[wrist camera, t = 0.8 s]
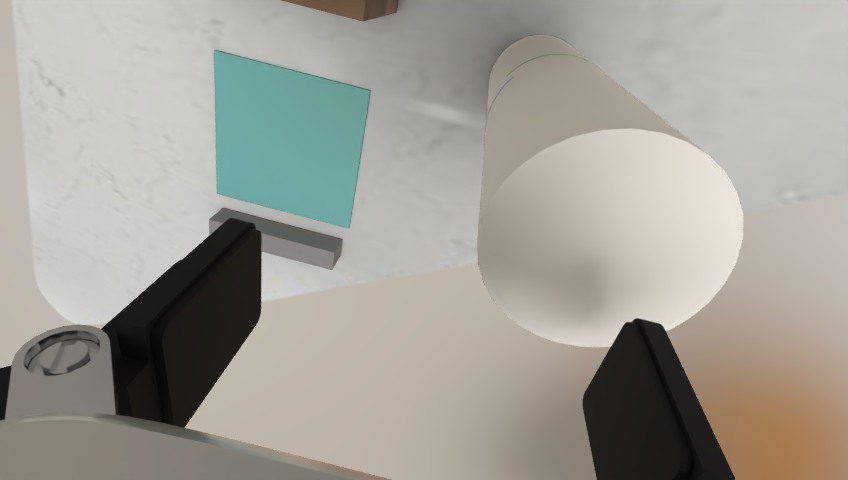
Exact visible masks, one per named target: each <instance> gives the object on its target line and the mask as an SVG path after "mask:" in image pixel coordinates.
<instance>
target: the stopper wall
mask: <svg viewBox="0 0 848 480" xmlns="http://www.w3.org/2000/svg"><path fill="white" fill-rule="evenodd" d="M229 218H235V219H239V220H243V221H247V222H251V223H254V224H255V227H256V230H259V231H261V235H262V246H261V251H262V252H266V253H270V254H273V255H277V256H281V257H285V258H288V259H292V260H296V261H300V262H304V263H307V264H311V265H315V266H319V267H323V268H326V269H330V270H332V269H333V268H334V266H335V264H336V262H337V261H338V259H339V257H340V253H341V246H342V239H339V238H335V237H331V236H328V235H324V234H320V233H316V232H312V231H309V230H305V229H301V228H297V227H293V226H290V225H286V224H282V223H278V222H274V221H271V220H267V219H263V218H259V217H255V216H252V215H248V214H244V213H240V212H236V211H233V210H229V209H225V208H223V209H221V210H220V211H219V212H218V213H216V214H215V215H214V216H213V217H212V218H210V219H209V233H210V235H211V234H212V233H213V232H214V231H215V230H216V229H217V228H218V227H220V226H221V225H222V224H223V223H224V222H225V221H226V220H228V219H229Z"/></svg>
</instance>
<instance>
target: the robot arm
mask: <svg viewBox="0 0 848 480" xmlns="http://www.w3.org/2000/svg"><path fill="white" fill-rule="evenodd" d="M261 246H262V235H261V231H259V230H256V227H255V224H254V223H251V222H247V221H243V220H239V219H235V218H229V219H228V220H226V221H225V222H224V223H223V224H222V225H221V226H220V227H218V228H217V229H216V230H215V231H214V232H213V233H212V234H211V235H210V236H208V237H207V238H206V239H205V240H204V241H203V242H202V243H201V244H199V245H198V246H197V247H196V248H195V249H194V250H193V251H192V252H190V253H189V254H188V255H187V256H186V257H185V258H184V259H183V260H180V261H178V262H177V263H175V264H174V265H173V266H172V267H171V268H170V269H168V270H167V271H166V272H165V273H164V274H163V275H162V276H160V277H159V278H158V279H157V280H156V281H155V282H154V283H153V284H151V285H150V286H149V287H148V288H147V289H146V290H145V291H144V292H142V293H141V294H140V295H139V296H138V297H137V298H136V299H134V300H133V301H132V302H131V303H130V304H129V305H128V306H127V307H125V308H124V309H123V310H122V311H121V312H120V313H119V314H117V315H116V316H115V317H114V318H113V319H112V320H111V321H110V322H108V323H107V324H106V325H105V326H104V327H103V328H102V329H99V328H96V327H93V326H88V325H71V326H63V327H59V328H56V329H52V330H49V331H47V332H44V333H42V334H40V335H38V336H36V337H34V338H33V339H31V340H30V341H28V342H27V343H25V344H24V345H23V346H22V347H21V348H20V350H19V351H18V352H17V353H16V354H15V357H14V359H13V362H12V365H11V366H8V367H4V368H0V480H391V479H387V478H383V477H378V476H375V475H371V474H367V473H363V472H360V471H355V470H351V469H348V468H344V467H340V466H336V465H332V464H328V463H324V462H320V461H316V460H312V459H308V458H304V457H301V456H296V455H292V454H289V453H285V452H281V451H277V450H273V449H269V448H265V447H261V446H256V445H253V444H249V443H245V442H241V441H237V440H233V439H228V438H224V437H220V436H216V435H212V434H208V433H203V432H199V431H195V430H191V429H186V428H184V427H185V426H186V425H187V423H188V422H189V420H190V419H191V417H192V416H193V415H194V413H195V412H196V410H197V409H198V407H199V406H200V405H201V403H202V402H203V400H204V399H205V397H206V396H207V395H208V393H209V392H210V390H211V389H212V387H213V386H214V384H215V383H216V382H217V380H218V379H219V377H220V376H221V374H222V373H223V372H224V370H225V369H226V367H227V366H228V365H229V363H230V362H231V360H232V359H233V357H234V356H235V355H236V353H237V352H238V350H239V349H240V347H241V346H242V344H243V343H244V342H245V340H246V339H247V337H248V336H249V334H250V333H251V332H252V330H253V329H254V327H255V326H256V324H257V323H258V320H259V317H260V314H261ZM583 410H584V416H585V421H586V426H587V431H588V436H589V442H590V447H591V451H592V456H593V462H594V467H595V472H596V477H597V480H735V477H734V475H733V473H732V471H731V469H730V467H729V464H728V462H727V460H726V458H725V456H724V454H723V452H722V450H721V447H720V445H719V443H718V441H717V439H716V437H715V435H714V433H713V431H712V429H711V426H710V424H709V422H708V420H707V418H706V416H705V414H704V412H703V409H702V407H701V405H700V403H699V401H698V399H697V397H696V395H695V392H694V390H693V388H692V386H691V384H690V382H689V380H688V378H687V376H686V373H685V371H684V369H683V367H682V365H681V363H680V361H679V358H678V357H677V354H676V352H675V350H674V348H673V346H672V344H671V341H670V339H669V338H668V335H667V333H666V331H665V329H664V327H663V326H662V325H661V324H660V323H656V322H652V321H648V320H644V319H640V318H636V319H634V320H633V321H632V322H626V323H625V324H624V325H623V327H622V328H621V330H620V332H619V334H618V335H617V337H616V339H615V341H614V342H613V344H612V346H611V348H610V349H609V351H608V353H607V355H606V357H605V358H604V360H603V362H602V363H601V365H600V367H599V369H598V370H597V372H596V374H595V376H594V377H593V379H592V381H591V383H590V384H589V386H588V388H587V390H586V391H585V394H584V397H583Z"/></svg>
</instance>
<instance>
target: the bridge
mask: <svg viewBox="0 0 848 480" xmlns="http://www.w3.org/2000/svg"><path fill="white" fill-rule="evenodd" d="M282 1H286V2H290V3H294V4H298V5H302V6H306V7H309V8H313V9H317V10H321V11H325V12H329V13H333V14H337V15H340V16H344V17H348V18H352V19H356V20H360V21H366V20H370V19H373V18H377V17H381V16H385V15H388V14H392V13H396V11H397V5H398V0H282Z"/></svg>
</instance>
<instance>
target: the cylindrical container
mask: <svg viewBox="0 0 848 480" xmlns="http://www.w3.org/2000/svg"><path fill="white" fill-rule="evenodd" d="M742 241H743V213H742V209H741V205H740V201H739V197H738V193H737V191H736V190H735V188H734V186H733V184H732V183H731V181H730V179H729V177H728V176H727V174H726V172H725V171H724V170H723V169H722V168H721V167H720V166H719V165H718V164H717V163H716V162H715V161H714V160H713V159H712V158H711V157H710V156H709V155H708V154H706V153H705V152H704V151H703V150H701V149H700V148H699V147H698V146H696V145H695V144H694V143H693V142H691V141H690V140H689V139H688V138H686V137H685V136H684V135H683V134H681V133H680V132H679V131H677V130H676V129H675V128H674V127H672V126H671V125H670V124H669V123H667V122H666V121H665V120H664V119H662V118H661V117H660V116H659V115H657V114H656V113H655V112H654V111H652V110H651V109H650V108H649V107H647V106H646V105H645V104H644V103H642V102H641V101H640V100H639V99H637V98H636V97H635V96H633V95H632V94H631V93H630V92H628V91H627V90H626V89H625V88H623V87H622V86H621V85H620V84H618V83H617V82H616V81H615V80H613V79H612V78H611V77H610V76H608V75H607V74H606V73H605V72H603V71H602V70H601V69H600V68H598V67H597V66H596V65H594V64H593V63H592V62H591V61H589V60H588V59H587V58H586V57H584V56H583V55H582V54H581V53H579V52H578V51H577V50H576V49H574V48H573V47H572V46H571V45H569V44H568V43H566V42H565V41H563V40H562V39H559V38H557V37H554V36H550V35H543V34H542V35H531V36H528V37H525V38H522V39H520V40H518V41H516V42H514V43H512V44H511V45H510V46H509V47H508V48H506V49H505V50H504V51H503V52H502V54H501V55H500V56H499V57H498V59H497V61H496V62H495V64H494V66H493V68H492V71H491V74H490V79H489V86H488V101H487V115H486V128H485V143H484V158H483V173H482V187H481V200H480V213H479V227H478V240H477V247H478V265H479V268H480V272H481V276H482V279H483V283H484V285H485V286H486V288H487V290H488V292H489V294H490V295H491V297H492V299H493V301H494V302H495V303H496V304H497V305H498V306H499V308H500V309H501V310H502V311H503V312H504V313H505V314H506V315H507V316H508V317H509V318H511V319H512V320H513V321H514V322H516V323H517V324H518V325H520V326H521V327H523V328H525V329H526V330H528V331H530V332H532V333H534V334H536V335H538V336H540V337H543V338H546V339H549V340H552V341H555V342H558V343H563V344H569V345H574V346H581V347H582V346H583V347H608V346H612V344H613V342H614V341H615V339H616V337H617V335H618V334H619V332H620V330H621V328H622V327H623V325H624V324H625V323H626V322H632V321H633V320H634V319H636V318H640V319H644V320H648V321H652V322H656V323H660V324H661V325H662V326H663V327H664V329H665V331H668V330H670V329H672V328H674V327H676V326H678V325H679V324H681V323H682V322H684V321H686V320H687V319H689V318H690V317H692V316H693V315H694V314H696V313H697V312H698V311H699V310H700V309H702V308H703V307H704V306H705V305H706V304H708V303H709V302H710V301H711V299H712V298H713V297H714V296H715V295H716V293H717V292H718V291H719V290H720V289H721V288H722V286H723V285H724V284H725V282H726V280H727V278H728V277H729V275H730V273H731V271H732V270H733V268H734V266H735V264H736V261H737V258H738V254H739V251H740V247H741V244H742Z"/></svg>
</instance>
